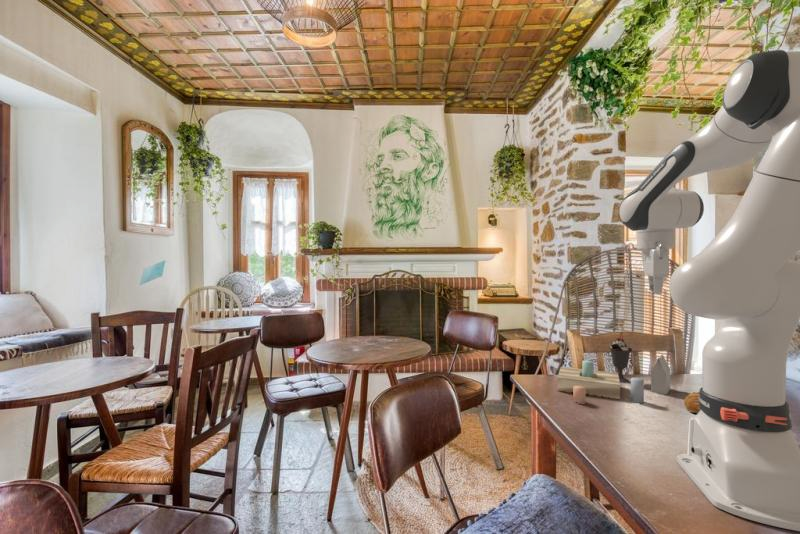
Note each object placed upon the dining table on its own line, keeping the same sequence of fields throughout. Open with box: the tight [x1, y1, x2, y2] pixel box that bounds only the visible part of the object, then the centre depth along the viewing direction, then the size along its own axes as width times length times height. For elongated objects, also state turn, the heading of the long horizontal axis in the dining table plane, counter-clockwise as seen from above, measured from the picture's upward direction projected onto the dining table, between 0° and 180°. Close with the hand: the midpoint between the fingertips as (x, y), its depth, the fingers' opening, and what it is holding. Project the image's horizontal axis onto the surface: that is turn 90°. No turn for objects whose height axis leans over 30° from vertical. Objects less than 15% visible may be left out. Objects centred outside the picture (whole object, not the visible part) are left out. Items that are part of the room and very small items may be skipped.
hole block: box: [557, 366, 621, 400], centre depth 115 cm, size 12×16×4 cm
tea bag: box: [650, 353, 671, 396], centre depth 112 cm, size 4×7×10 cm, turn 137°
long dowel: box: [581, 360, 594, 378], centre depth 115 cm, size 3×3×8 cm
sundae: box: [608, 331, 633, 383], centre depth 122 cm, size 7×7×15 cm
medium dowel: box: [630, 377, 645, 404], centre depth 104 cm, size 3×3×6 cm
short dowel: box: [572, 386, 587, 404], centre depth 104 cm, size 3×3×4 cm
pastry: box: [683, 391, 701, 414], centre depth 98 cm, size 9×7×4 cm
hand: (655, 292), depth 108 cm, fingers open, 8 cm apart
